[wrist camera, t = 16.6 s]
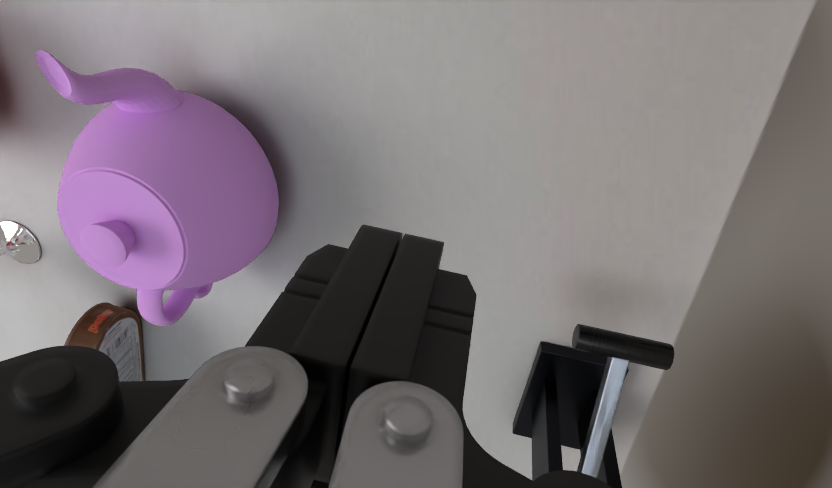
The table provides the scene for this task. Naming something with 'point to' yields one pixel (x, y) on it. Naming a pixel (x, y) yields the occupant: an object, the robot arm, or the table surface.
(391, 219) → the table surface
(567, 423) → the bracket
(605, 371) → the lever
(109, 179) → the teapot
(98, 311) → the tin
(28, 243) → the wineglass
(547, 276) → the table surface
